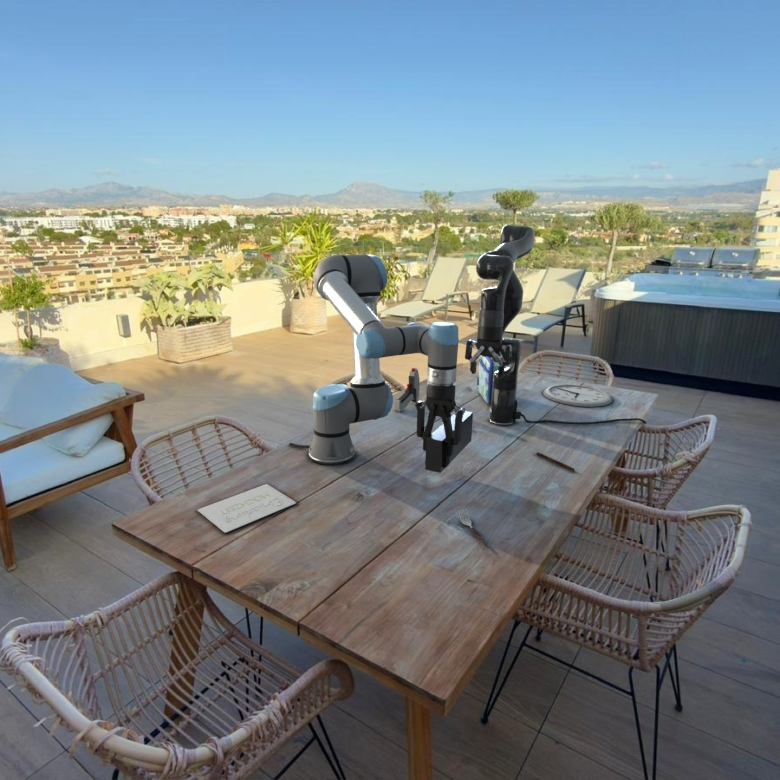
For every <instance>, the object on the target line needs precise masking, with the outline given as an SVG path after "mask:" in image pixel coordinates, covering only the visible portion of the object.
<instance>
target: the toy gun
mask: <svg viewBox="0 0 780 780" xmlns="http://www.w3.org/2000/svg"><path fill="white" fill-rule="evenodd" d="M420 380H421V379H420V373H419V370H418V368H416V367H412V368H411V369H410V371H409V375H408V383H406V389H405V391H404V393H403V394H402V395H400V396H399V398H398V399H397V398H396V399H395V400H394V411H395V412H400V413H401V412H402V411H403V410H404V409H406V408H407V407H408V405H409V404H410V403H411V402H412V404H416V403H417V402H418V401H419V397H420V389H421V388H420V384H421V383H420V382H421V381H420Z"/></svg>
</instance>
